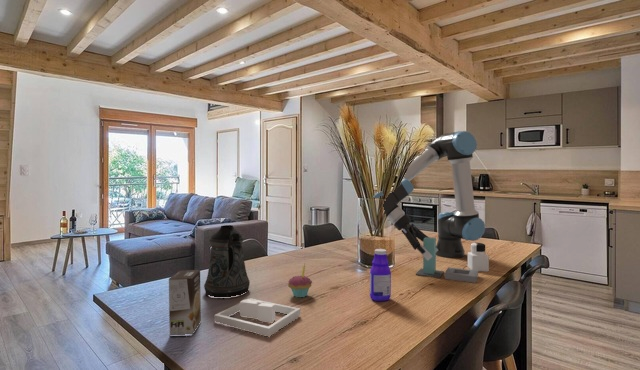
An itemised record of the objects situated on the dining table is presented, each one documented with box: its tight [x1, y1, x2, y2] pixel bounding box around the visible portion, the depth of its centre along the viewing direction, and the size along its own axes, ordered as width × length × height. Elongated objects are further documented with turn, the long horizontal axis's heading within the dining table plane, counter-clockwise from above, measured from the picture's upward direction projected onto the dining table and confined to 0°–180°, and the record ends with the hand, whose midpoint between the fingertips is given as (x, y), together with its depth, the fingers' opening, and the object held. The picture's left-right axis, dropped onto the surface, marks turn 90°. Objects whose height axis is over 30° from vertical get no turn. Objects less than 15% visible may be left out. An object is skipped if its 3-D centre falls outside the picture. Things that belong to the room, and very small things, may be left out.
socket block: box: [444, 266, 479, 284], centre depth 149 cm, size 10×12×2 cm
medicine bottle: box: [467, 242, 490, 272], centre depth 161 cm, size 7×7×12 cm
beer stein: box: [203, 224, 251, 297], centre depth 132 cm, size 16×19×25 cm
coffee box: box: [168, 269, 202, 336], centre depth 101 cm, size 9×6×16 cm
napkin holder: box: [239, 299, 277, 322], centre depth 107 cm, size 15×11×6 cm
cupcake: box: [287, 263, 313, 298], centre depth 128 cm, size 9×8×12 cm
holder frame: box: [213, 297, 301, 336], centre depth 107 cm, size 16×20×2 cm
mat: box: [415, 268, 445, 279], centre depth 155 cm, size 10×10×1 cm
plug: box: [422, 236, 437, 274], centre depth 155 cm, size 4×4×15 cm
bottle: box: [369, 248, 392, 302], centre depth 124 cm, size 7×6×17 cm
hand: (433, 255), depth 154 cm, fingers open, 13 cm apart
